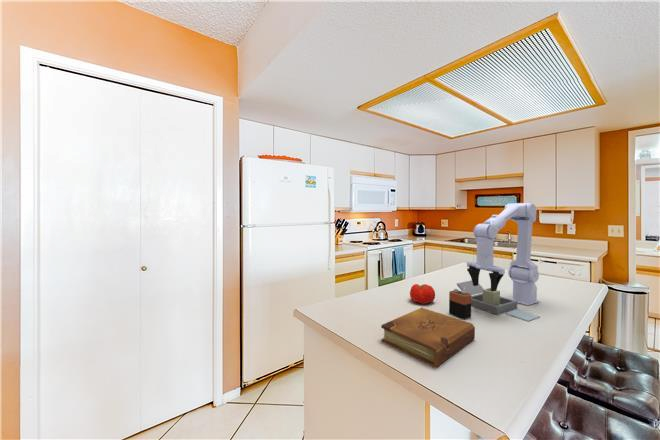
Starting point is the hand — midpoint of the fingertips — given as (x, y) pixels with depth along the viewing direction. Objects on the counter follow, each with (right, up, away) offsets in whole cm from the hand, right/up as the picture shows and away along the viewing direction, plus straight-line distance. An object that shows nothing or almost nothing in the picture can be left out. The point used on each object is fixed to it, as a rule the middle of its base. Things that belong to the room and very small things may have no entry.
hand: (484, 288), depth 104 cm
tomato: (-20, -10, +14) cm, 26 cm away
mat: (+13, -10, -3) cm, 17 cm away
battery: (-11, -10, -2) cm, 15 cm away
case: (+6, -10, +10) cm, 15 cm away
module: (+7, -10, +7) cm, 14 cm away
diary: (-30, -12, -21) cm, 38 cm away
